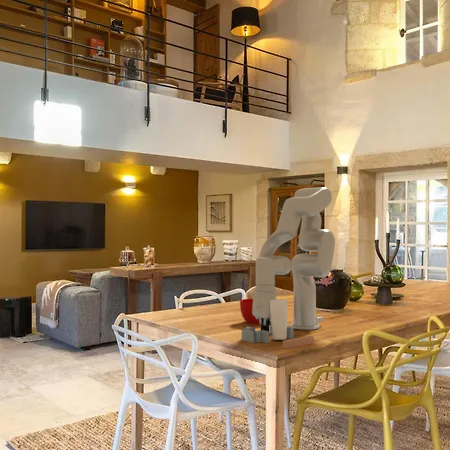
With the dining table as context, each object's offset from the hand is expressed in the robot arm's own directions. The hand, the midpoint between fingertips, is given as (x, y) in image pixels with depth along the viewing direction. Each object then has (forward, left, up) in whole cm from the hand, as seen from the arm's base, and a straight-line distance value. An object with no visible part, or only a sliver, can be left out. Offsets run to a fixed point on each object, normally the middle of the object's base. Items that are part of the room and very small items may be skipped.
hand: (265, 335), depth 202 cm
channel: (+2, +8, -1) cm, 8 cm away
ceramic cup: (-16, -26, -1) cm, 31 cm away
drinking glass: (0, +9, 0) cm, 9 cm away
